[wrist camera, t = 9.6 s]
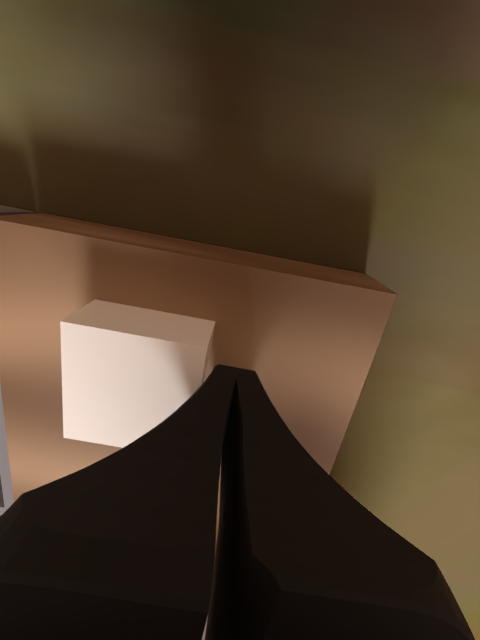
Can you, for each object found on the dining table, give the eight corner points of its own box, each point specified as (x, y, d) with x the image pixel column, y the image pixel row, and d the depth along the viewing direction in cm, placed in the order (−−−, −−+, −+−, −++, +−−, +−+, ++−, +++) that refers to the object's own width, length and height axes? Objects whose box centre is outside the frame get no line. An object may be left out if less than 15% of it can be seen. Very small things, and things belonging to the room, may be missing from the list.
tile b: (199, 417, 12) (189, 458, 10) (93, 399, 12) (63, 437, 10) (215, 321, 10) (207, 347, 9) (94, 299, 10) (60, 321, 8)
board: (285, 514, 18) (292, 574, 15) (55, 476, 17) (17, 529, 14) (365, 273, 13) (397, 294, 10) (43, 212, 12) (-19, 216, 9)
